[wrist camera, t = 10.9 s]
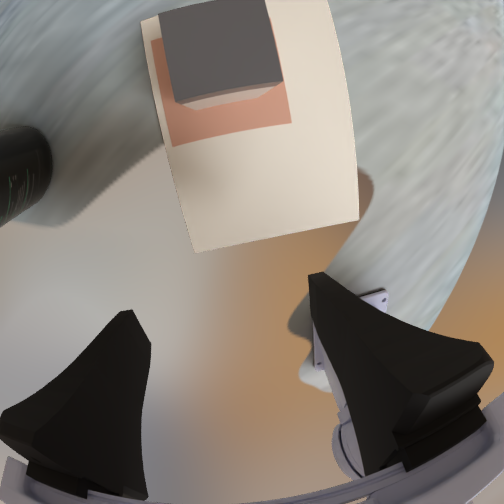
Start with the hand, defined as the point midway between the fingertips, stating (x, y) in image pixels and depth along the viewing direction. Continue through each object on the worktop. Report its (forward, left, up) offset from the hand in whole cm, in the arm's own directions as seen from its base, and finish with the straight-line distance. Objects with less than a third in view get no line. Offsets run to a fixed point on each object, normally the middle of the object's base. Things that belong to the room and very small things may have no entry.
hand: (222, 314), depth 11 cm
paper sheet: (+7, -4, -10) cm, 13 cm away
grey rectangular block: (+10, -2, -10) cm, 14 cm away
